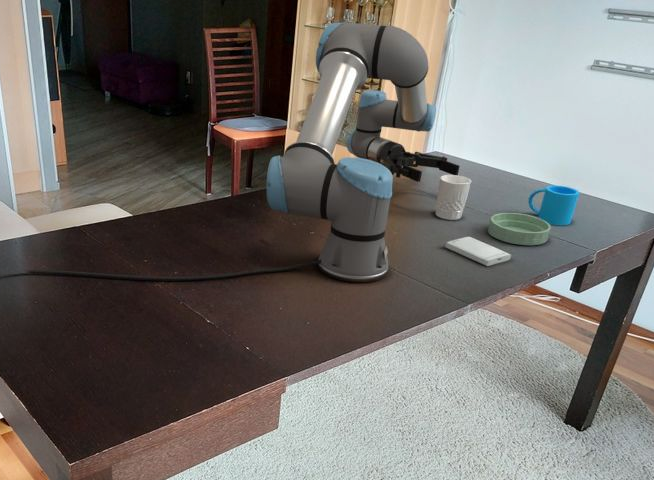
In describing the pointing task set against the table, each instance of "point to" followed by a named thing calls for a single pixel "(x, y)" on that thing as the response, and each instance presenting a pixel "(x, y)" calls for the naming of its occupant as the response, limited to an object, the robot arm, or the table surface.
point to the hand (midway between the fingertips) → (439, 173)
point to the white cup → (452, 196)
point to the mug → (556, 204)
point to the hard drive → (478, 251)
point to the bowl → (519, 228)
